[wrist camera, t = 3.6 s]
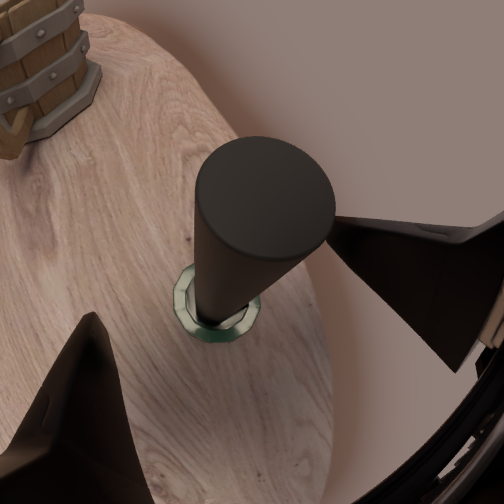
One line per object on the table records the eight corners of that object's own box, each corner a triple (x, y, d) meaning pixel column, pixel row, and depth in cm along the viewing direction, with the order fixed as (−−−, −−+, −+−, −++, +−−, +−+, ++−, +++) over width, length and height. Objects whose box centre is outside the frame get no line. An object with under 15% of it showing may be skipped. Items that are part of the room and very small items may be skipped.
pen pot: (245, 340, 17) (263, 339, 12) (181, 343, 16) (175, 344, 11) (240, 279, 18) (256, 255, 13) (178, 280, 17) (172, 257, 13)
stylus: (229, 325, 17) (349, 259, 4) (196, 326, 16) (195, 263, 3) (226, 293, 17) (322, 141, 4) (194, 294, 17) (197, 131, 4)
